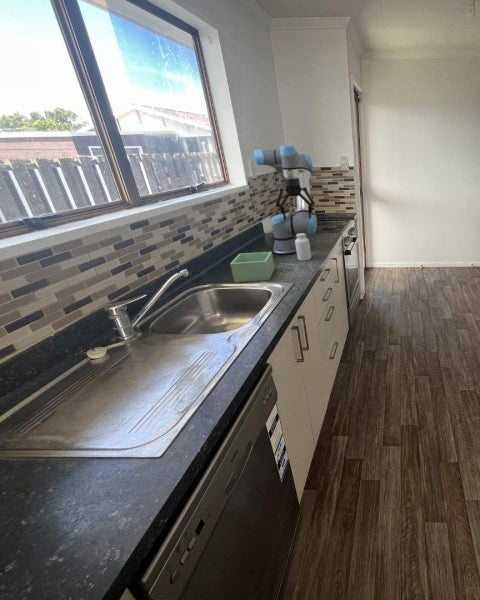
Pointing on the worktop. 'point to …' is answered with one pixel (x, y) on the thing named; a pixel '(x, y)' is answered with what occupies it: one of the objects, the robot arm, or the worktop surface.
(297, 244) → the pill bottle
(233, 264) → the bin
